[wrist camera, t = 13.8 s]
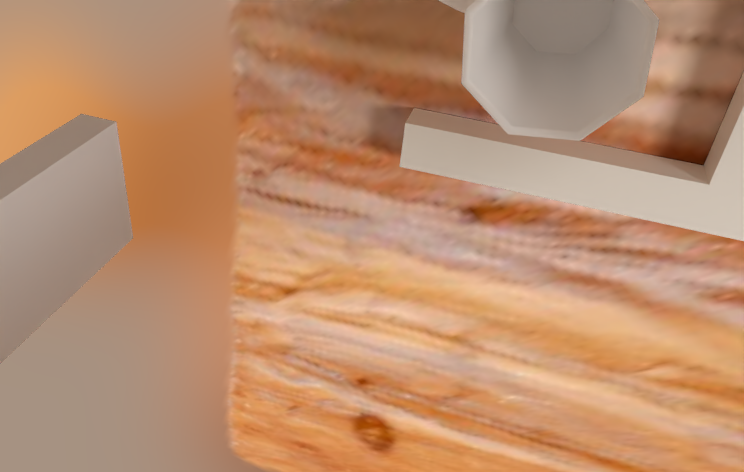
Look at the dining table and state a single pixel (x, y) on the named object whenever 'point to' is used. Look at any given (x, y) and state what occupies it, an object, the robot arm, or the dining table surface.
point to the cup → (556, 61)
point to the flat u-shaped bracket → (590, 170)
